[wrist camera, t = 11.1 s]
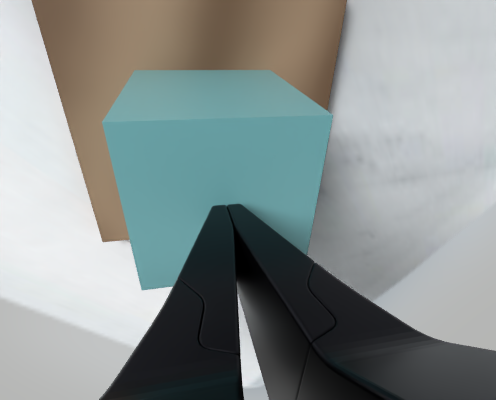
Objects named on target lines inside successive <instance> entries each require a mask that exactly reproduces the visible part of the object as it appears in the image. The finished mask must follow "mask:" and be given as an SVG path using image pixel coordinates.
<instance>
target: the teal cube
mask: <svg viewBox="0 0 496 400" xmlns="http://www.w3.org/2000/svg"><path fill="white" fill-rule="evenodd" d="M332 118H333V115H332V114H331V113H330V112H328V111H327V110H325V109H324V108H323V107H321V106H320V105H318V104H317V103H316V102H314V101H313V100H311V99H310V98H309V97H307V96H306V95H304V94H303V93H302V92H300V91H299V90H297V89H296V88H295V87H293V86H292V85H290V84H289V83H288V82H286V81H285V80H284V79H282V78H281V77H279V76H278V75H277V74H275V73H274V72H272V71H271V70H134V72H133V74H132V75H131V77H130V78H129V80H128V82H127V83H126V85H125V86H124V88H123V89H122V91H121V93H120V94H119V96H118V97H117V99H116V101H115V102H114V104H113V105H112V107H111V109H110V110H109V112H108V113H107V115H106V117H105V118H104V120H103V121H102V124H103V129H104V133H105V137H106V141H107V146H108V150H109V154H110V158H111V162H112V167H113V171H114V175H115V179H116V184H117V188H118V192H119V196H120V200H121V205H122V209H123V213H124V217H125V222H126V226H127V230H128V234H129V238H130V243H131V247H132V251H133V255H134V260H135V264H136V268H137V272H138V276H139V281H140V285H141V289H142V290H148V289H156V288H164V287H172V286H174V284H175V282H176V280H177V278H178V276H179V274H180V272H181V270H182V268H183V265H184V263H185V261H186V259H187V257H188V255H189V253H190V251H191V249H192V247H193V245H194V243H195V241H196V239H197V236H198V234H199V232H200V230H201V228H202V226H203V224H204V222H205V220H206V218H207V216H208V214H209V212H210V210H211V208H212V206H215V205H226V206H227V205H229V204H242V205H243V206H244V207H246V208H247V209H248V210H249V211H251V212H252V213H253V214H255V215H256V216H257V217H258V218H260V219H261V220H262V221H263V222H265V223H266V224H267V225H269V226H270V227H271V228H272V229H274V230H275V231H276V232H278V233H279V234H280V235H281V236H283V237H284V238H285V239H286V240H288V241H289V242H290V243H292V244H293V245H294V246H295V247H297V248H298V249H299V250H300V251H302V252H303V253H304V254H306V255H307V252H308V247H309V241H310V236H311V231H312V225H313V220H314V215H315V209H316V204H317V199H318V193H319V188H320V182H321V177H322V172H323V166H324V161H325V156H326V150H327V145H328V140H329V134H330V129H331V123H332Z"/></svg>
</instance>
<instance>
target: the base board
mask: <svg viewBox="0 0 496 400" xmlns="http://www.w3.org/2000/svg"><path fill="white" fill-rule="evenodd" d="M346 2H347V0H32V4H33V7H34V11H35V14H36V17H37V21H38V24H39V27H40V31H41V34H42V38H43V41H44V44H45V48H46V51H47V55H48V58H49V61H50V65H51V68H52V72H53V75H54V78H55V82H56V85H57V89H58V92H59V95H60V99H61V102H62V106H63V109H64V112H65V116H66V119H67V122H68V126H69V129H70V133H71V136H72V139H73V143H74V146H75V150H76V153H77V156H78V160H79V163H80V167H81V170H82V173H83V177H84V180H85V184H86V187H87V190H88V194H89V197H90V200H91V204H92V207H93V211H94V214H95V217H96V221H97V224H98V228H99V231H100V234H101V238H102V241H103V242H109V241H119V240H130V238H129V234H128V230H127V226H126V222H125V217H124V213H123V209H122V205H121V200H120V196H119V192H118V188H117V184H116V179H115V175H114V171H113V167H112V162H111V158H110V154H109V150H108V146H107V141H106V137H105V133H104V129H103V124H102V121H103V120H104V118H105V117H106V115H107V113H108V112H109V110H110V109H111V107H112V105H113V104H114V102H115V101H116V99H117V97H118V96H119V94H120V93H121V91H122V89H123V88H124V86H125V85H126V83H127V82H128V80H129V78H130V77H131V75H132V74H133V72H134V70H271V71H272V72H274V73H275V74H277V75H278V76H279V77H281V78H282V79H284V80H285V81H286V82H288V83H289V84H290V85H292V86H293V87H295V88H296V89H297V90H299V91H300V92H302V93H303V94H304V95H306V96H307V97H309V98H310V99H311V100H313V101H314V102H316V103H317V104H318V105H320V106H321V107H323V108H324V109H325V110H327V109H328V103H329V97H330V92H331V86H332V81H333V75H334V69H335V64H336V58H337V53H338V47H339V41H340V36H341V30H342V25H343V19H344V14H345V8H346Z"/></svg>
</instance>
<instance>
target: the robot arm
mask: <svg viewBox="0 0 496 400" xmlns="http://www.w3.org/2000/svg"><path fill="white" fill-rule="evenodd" d="M237 291H238V294H239V298H240V301H241V305H242V308H243V312H244V315H245V318H246V322H247V325H248V329H249V332H250V336H251V339H252V342H253V346H254V349H255V353H256V356H257V360H258V363H259V366H260V370H261V373H262V377H263V380H264V384H265V387H266V390H267V394H268V397H269V400H496V351H493V350H487V349H481V348H476V347H471V346H464V345H459V344H453V343H449V342H444V341H441V340H438V339H434V338H432V337H429V336H427V335H425V334H423V333H421V332H419V331H417V330H415V329H413V328H412V327H410V326H409V325H407V324H405V323H404V322H402V321H401V320H399V319H398V318H396V317H394V316H393V315H391V314H390V313H388V312H387V311H385V310H384V309H382V308H380V307H379V306H377V305H376V304H374V303H373V302H371V301H370V300H368V299H366V298H365V297H363V296H362V295H360V294H359V293H357V292H356V291H354V290H353V289H351V288H350V287H348V286H347V285H345V284H344V283H342V282H341V281H340V280H338V279H337V278H336V277H334V276H333V275H332V274H330V273H329V272H328V271H326V270H325V269H324V268H322V267H321V266H320V265H319V264H317V263H314V261H313V260H312V259H311V258H309V257H308V256H307V255H306V254H304V253H303V252H302V251H300V250H299V249H298V248H297V247H295V246H294V245H293V244H292V243H290V242H289V241H288V240H286V239H285V238H284V237H283V236H281V235H280V234H279V233H278V232H276V231H275V230H274V229H272V228H271V227H270V226H269V225H267V224H266V223H265V222H263V221H262V220H261V219H260V218H258V217H257V216H256V215H255V214H253V213H252V212H251V211H249V210H248V209H247V208H246V207H244V206H243V205H242V204H229V205H227V206H226V205H215V206H212V208H211V210H210V212H209V214H208V216H207V218H206V220H205V222H204V224H203V226H202V228H201V230H200V232H199V234H198V236H197V239H196V241H195V243H194V245H193V247H192V249H191V251H190V253H189V255H188V257H187V259H186V261H185V263H184V265H183V268H182V270H181V272H180V274H179V276H178V278H177V280H176V282H175V284H174V286H173V288H172V290H171V292H170V294H169V296H168V298H167V299H166V301H165V303H164V305H163V307H162V309H161V310H160V312H159V313H158V315H157V317H156V318H155V320H154V321H153V323H152V325H151V326H150V328H149V329H148V331H147V332H146V334H145V335H144V337H143V338H142V340H141V341H140V343H139V344H138V346H137V347H136V349H135V350H134V352H133V353H132V355H131V356H130V358H129V359H128V361H127V362H126V364H125V365H124V367H123V368H122V370H121V371H120V373H119V374H118V376H117V377H116V378H115V380H114V381H113V383H112V384H111V386H110V387H109V388H108V389H107V391H106V392H105V393H104V394H103V396H102V397H101V398H100V399H99V400H244V396H243V387H242V374H241V359H240V337H239V317H238V297H237Z"/></svg>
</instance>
